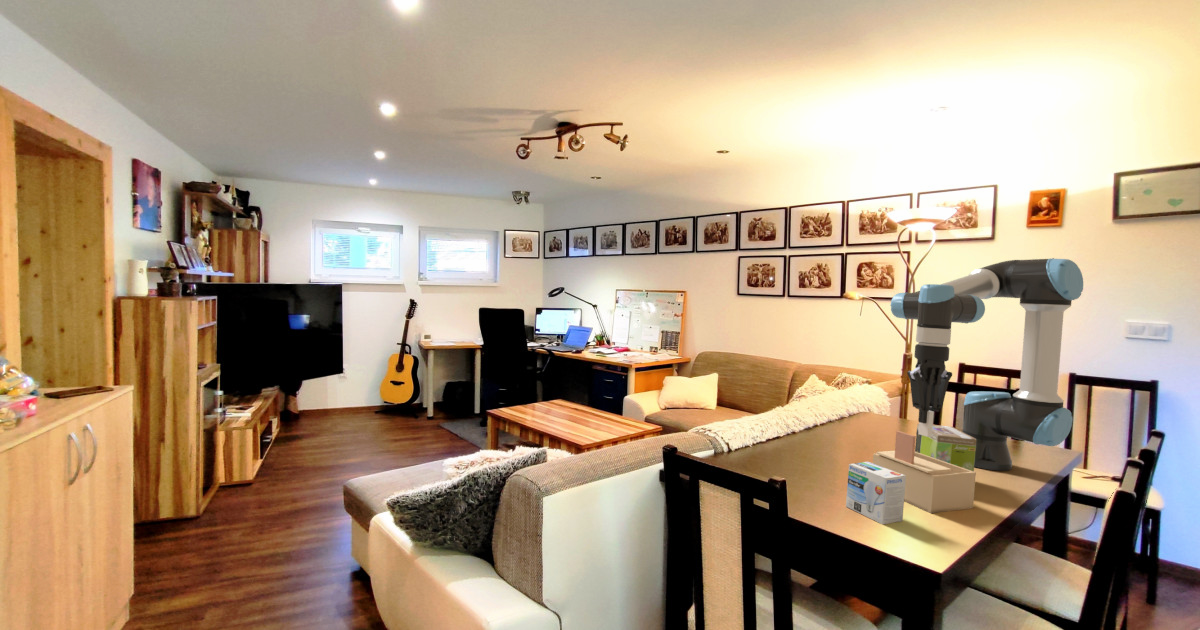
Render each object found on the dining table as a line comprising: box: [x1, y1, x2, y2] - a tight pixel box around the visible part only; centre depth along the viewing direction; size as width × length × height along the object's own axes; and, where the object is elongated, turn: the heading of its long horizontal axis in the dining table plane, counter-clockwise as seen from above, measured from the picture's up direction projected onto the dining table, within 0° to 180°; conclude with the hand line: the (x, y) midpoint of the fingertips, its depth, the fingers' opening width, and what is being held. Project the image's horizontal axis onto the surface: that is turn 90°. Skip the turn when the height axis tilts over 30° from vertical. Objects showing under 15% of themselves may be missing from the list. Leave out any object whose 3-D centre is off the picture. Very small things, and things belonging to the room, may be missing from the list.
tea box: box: [915, 423, 976, 472], centre depth 152 cm, size 15×10×15 cm, turn 168°
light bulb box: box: [845, 461, 906, 525], centre depth 126 cm, size 11×7×11 cm, turn 23°
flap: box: [876, 430, 951, 473], centre depth 137 cm, size 8×15×8 cm, turn 19°
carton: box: [872, 452, 977, 514], centre depth 139 cm, size 14×18×9 cm
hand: (925, 435), depth 138 cm, fingers closed
